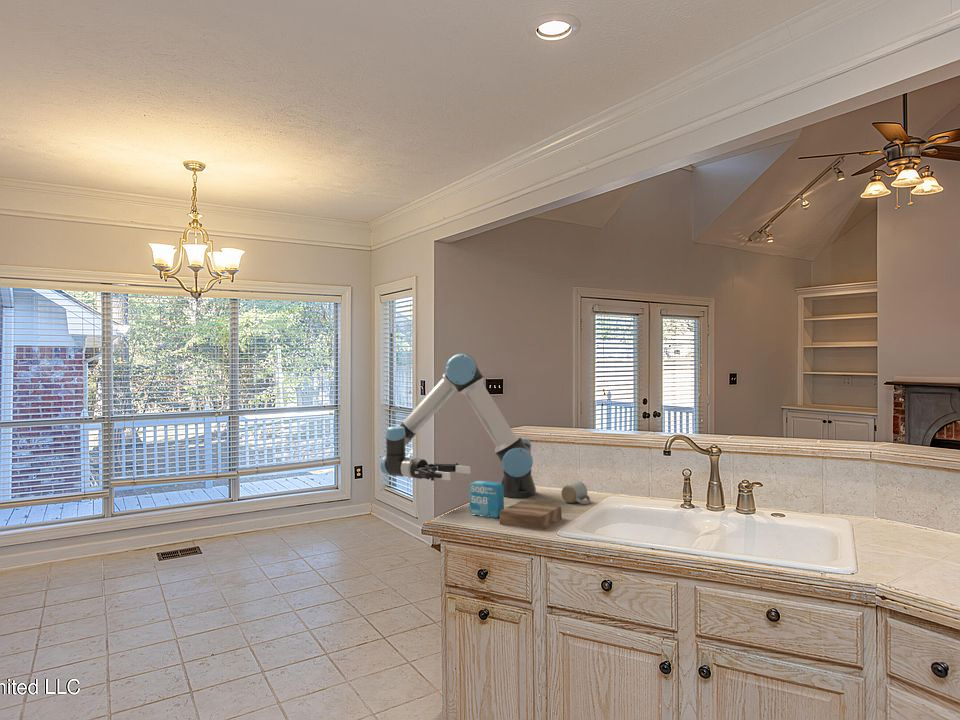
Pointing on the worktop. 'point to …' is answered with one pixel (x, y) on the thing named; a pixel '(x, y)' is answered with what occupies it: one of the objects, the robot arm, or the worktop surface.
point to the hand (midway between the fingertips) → (460, 473)
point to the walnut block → (530, 515)
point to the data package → (486, 498)
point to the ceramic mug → (575, 493)
